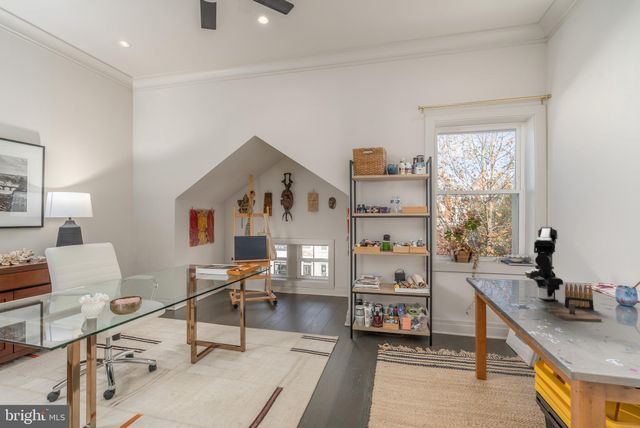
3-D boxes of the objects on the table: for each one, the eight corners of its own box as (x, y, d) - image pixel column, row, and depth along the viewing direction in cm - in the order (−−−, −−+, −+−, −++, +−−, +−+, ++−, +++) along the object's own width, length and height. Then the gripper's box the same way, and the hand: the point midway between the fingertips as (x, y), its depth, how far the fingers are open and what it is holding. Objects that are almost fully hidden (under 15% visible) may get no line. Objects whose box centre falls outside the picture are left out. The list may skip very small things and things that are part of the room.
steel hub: (535, 295, 151) (534, 285, 151) (549, 295, 150) (548, 286, 150) (542, 299, 145) (541, 288, 145) (556, 299, 143) (556, 289, 144)
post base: (546, 310, 142) (545, 298, 142) (579, 311, 139) (578, 299, 139) (564, 320, 128) (564, 307, 128) (601, 321, 126) (601, 308, 126)
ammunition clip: (565, 307, 146) (564, 283, 146) (564, 306, 148) (563, 282, 148) (594, 310, 140) (593, 285, 140) (593, 309, 141) (592, 284, 142)
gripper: (517, 261, 158) (518, 289, 158) (537, 267, 140) (538, 299, 139) (540, 261, 156) (541, 290, 156) (563, 267, 138) (564, 300, 137)
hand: (545, 294), depth 147 cm, fingers closed on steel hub, 6 cm apart
